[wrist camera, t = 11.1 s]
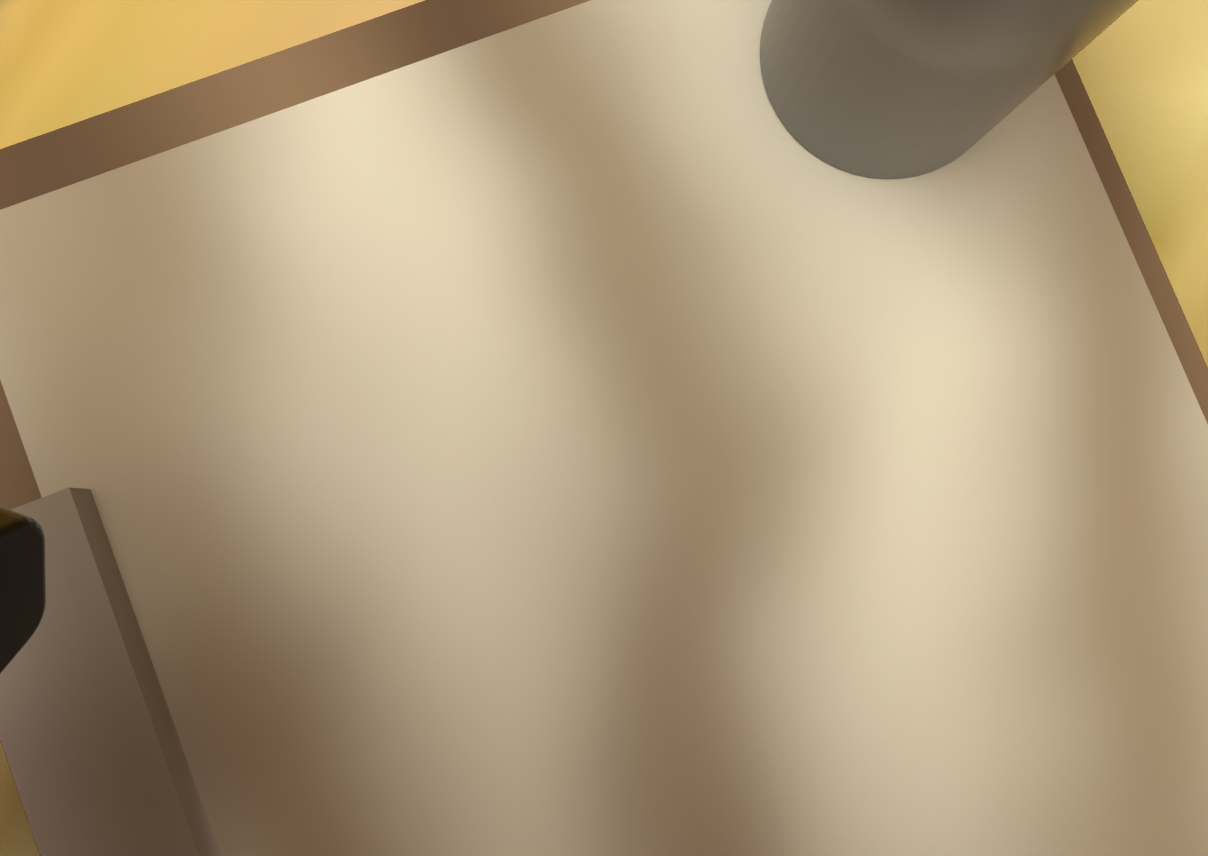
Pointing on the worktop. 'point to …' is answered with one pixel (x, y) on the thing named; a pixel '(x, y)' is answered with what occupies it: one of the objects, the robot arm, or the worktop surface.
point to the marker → (914, 72)
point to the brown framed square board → (593, 465)
